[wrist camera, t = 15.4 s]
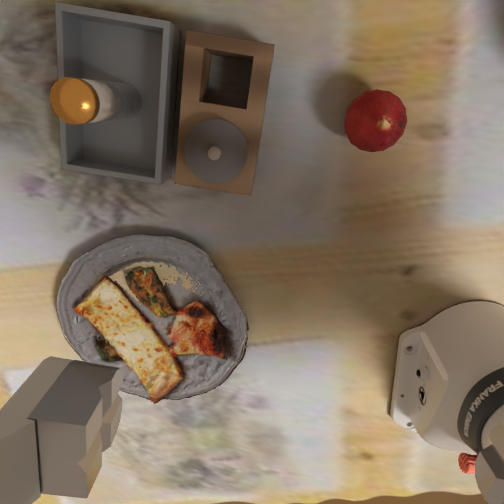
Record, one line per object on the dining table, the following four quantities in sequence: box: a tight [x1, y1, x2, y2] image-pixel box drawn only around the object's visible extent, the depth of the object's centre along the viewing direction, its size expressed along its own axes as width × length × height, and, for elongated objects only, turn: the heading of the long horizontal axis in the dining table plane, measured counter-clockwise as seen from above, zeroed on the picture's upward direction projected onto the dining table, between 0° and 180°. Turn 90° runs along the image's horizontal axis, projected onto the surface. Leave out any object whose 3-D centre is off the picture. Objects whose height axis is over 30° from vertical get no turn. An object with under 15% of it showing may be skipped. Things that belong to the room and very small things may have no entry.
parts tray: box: [55, 2, 181, 185], centre depth 39 cm, size 15×10×4 cm
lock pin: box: [50, 77, 142, 125], centre depth 35 cm, size 3×3×12 cm
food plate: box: [56, 234, 249, 404], centre depth 50 cm, size 25×23×4 cm
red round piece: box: [345, 90, 407, 152], centre depth 37 cm, size 6×6×8 cm
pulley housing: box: [175, 30, 274, 196], centre depth 38 cm, size 14×8×8 cm, turn 171°
